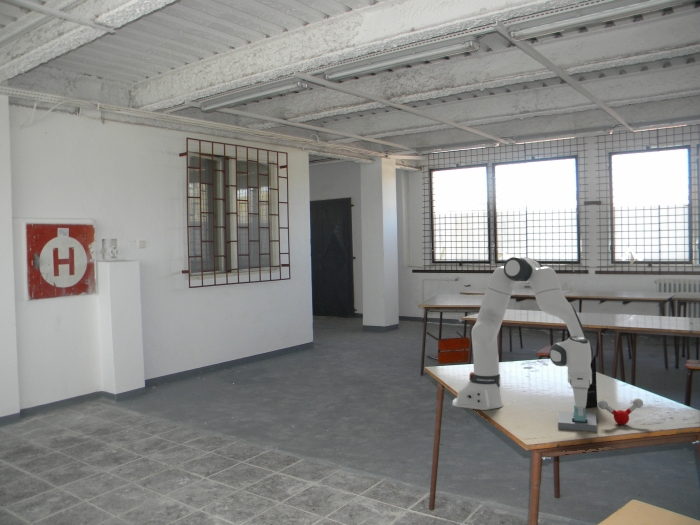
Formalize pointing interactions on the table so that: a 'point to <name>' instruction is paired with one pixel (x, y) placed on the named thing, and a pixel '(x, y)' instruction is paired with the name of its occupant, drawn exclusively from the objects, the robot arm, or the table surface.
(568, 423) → the outlet plate
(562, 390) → the table surface
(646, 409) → the table surface
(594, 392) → the portable radio
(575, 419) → the block
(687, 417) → the table surface
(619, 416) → the molecular model
